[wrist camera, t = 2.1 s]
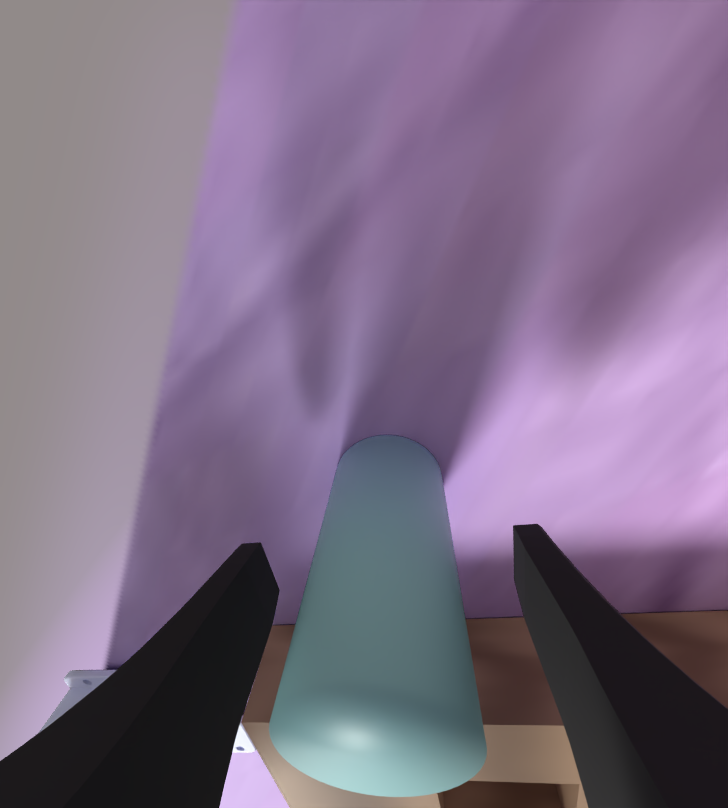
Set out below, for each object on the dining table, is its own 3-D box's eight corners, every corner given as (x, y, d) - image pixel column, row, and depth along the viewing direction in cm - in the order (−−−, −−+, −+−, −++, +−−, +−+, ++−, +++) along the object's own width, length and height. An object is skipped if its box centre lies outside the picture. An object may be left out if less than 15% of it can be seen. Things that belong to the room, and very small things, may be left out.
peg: (347, 525, 15) (298, 793, 8) (325, 441, 14) (240, 682, 6) (446, 517, 15) (491, 801, 7) (436, 428, 13) (481, 681, 6)
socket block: (332, 766, 24) (320, 861, 20) (272, 625, 18) (241, 722, 15) (675, 776, 21) (731, 890, 17) (730, 610, 15) (832, 728, 12)
